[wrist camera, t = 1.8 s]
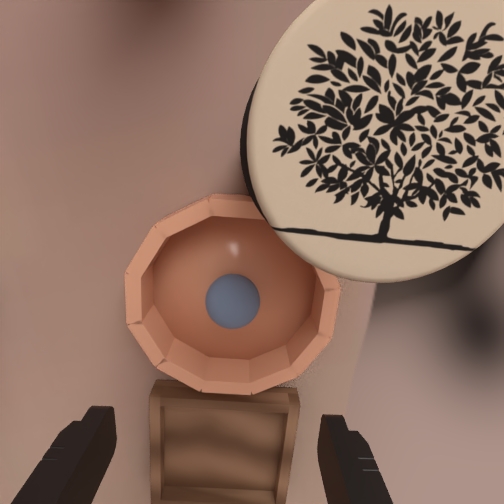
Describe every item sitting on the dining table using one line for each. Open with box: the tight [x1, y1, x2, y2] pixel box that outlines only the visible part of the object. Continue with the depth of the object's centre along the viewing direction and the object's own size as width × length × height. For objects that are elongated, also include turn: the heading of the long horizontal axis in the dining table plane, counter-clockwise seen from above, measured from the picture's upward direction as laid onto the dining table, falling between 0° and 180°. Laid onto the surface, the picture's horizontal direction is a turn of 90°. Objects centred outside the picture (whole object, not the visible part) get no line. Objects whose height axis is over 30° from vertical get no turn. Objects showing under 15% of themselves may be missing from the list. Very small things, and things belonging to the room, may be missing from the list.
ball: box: [205, 274, 260, 329], centre depth 25 cm, size 4×4×4 cm
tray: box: [149, 380, 300, 504], centre depth 32 cm, size 14×14×2 cm
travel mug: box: [240, 0, 504, 283], centre depth 16 cm, size 8×8×18 cm
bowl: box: [125, 194, 341, 395], centre depth 26 cm, size 16×16×4 cm
